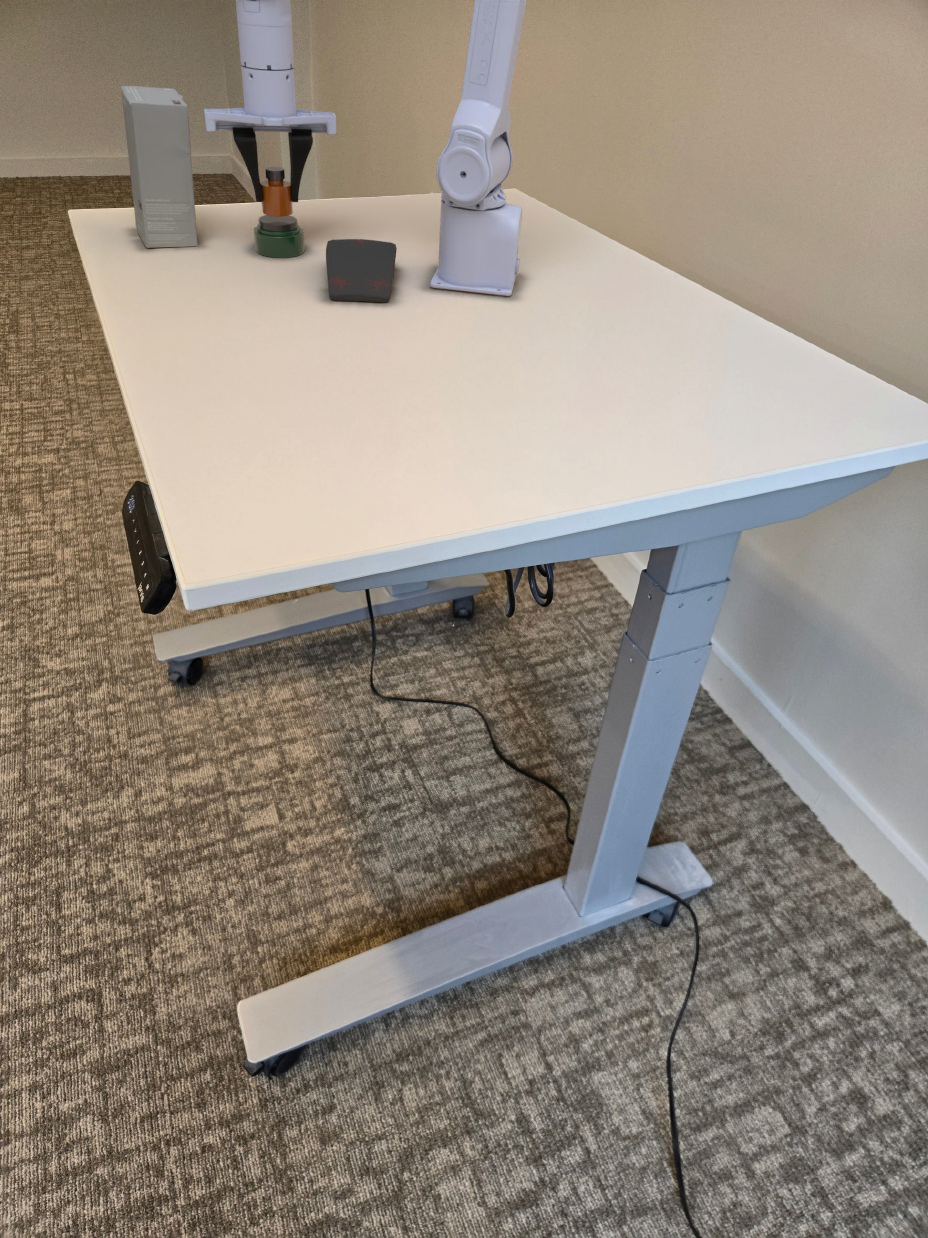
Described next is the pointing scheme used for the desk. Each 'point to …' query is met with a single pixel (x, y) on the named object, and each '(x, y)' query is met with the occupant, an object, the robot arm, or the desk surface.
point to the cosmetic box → (160, 166)
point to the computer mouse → (360, 269)
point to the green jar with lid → (279, 237)
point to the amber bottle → (276, 193)
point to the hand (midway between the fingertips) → (276, 199)
